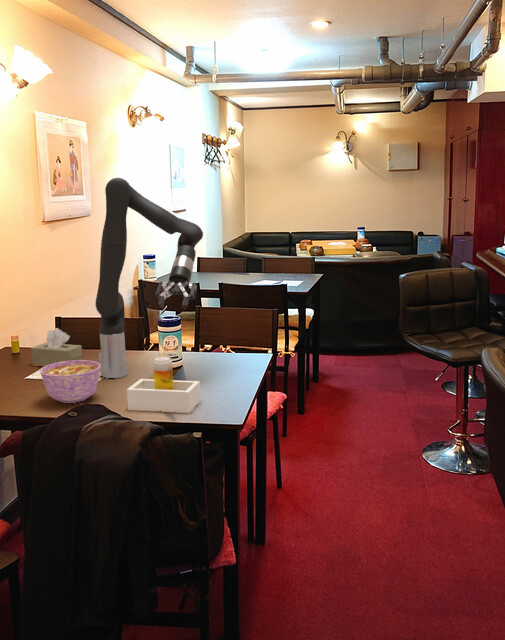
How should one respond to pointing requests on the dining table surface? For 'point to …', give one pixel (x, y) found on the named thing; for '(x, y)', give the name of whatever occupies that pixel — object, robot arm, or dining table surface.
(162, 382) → the beer can
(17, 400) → the dining table surface
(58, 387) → the bowl of food
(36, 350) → the tissue box
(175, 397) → the white rectangular tray
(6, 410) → the dining table surface
